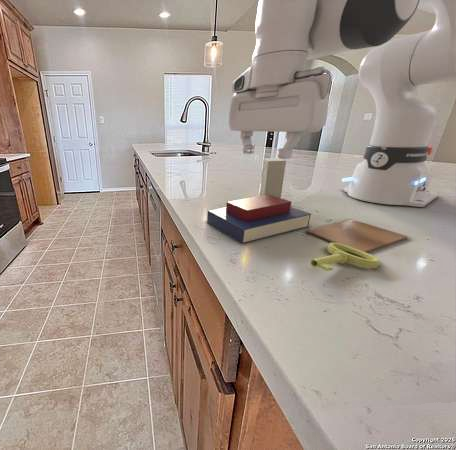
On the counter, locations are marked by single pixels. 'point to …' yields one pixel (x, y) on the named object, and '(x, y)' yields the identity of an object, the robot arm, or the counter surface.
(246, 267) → the counter surface
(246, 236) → the hardback
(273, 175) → the cosmetic box
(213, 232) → the counter surface
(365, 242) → the cork mat
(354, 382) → the counter surface
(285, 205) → the red rectangular block
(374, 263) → the key
